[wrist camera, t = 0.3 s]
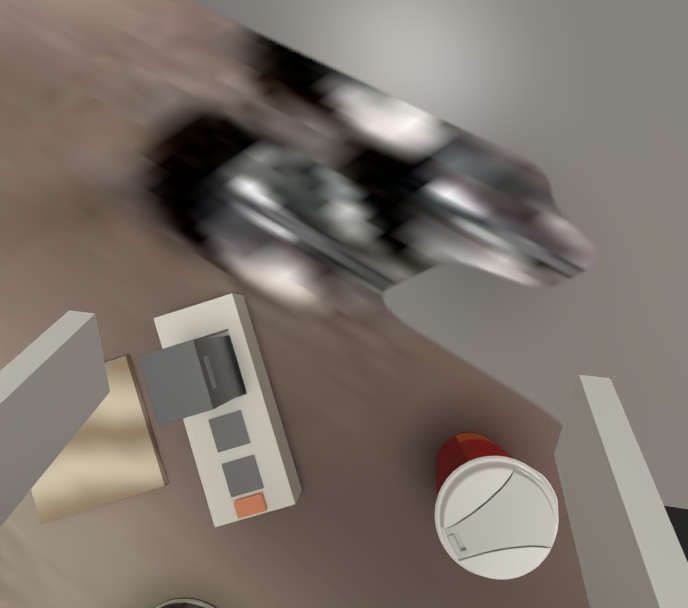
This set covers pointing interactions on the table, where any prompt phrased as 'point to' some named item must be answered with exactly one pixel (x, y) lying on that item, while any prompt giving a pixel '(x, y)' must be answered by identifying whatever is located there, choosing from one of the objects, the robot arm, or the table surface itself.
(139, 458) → the birch pad
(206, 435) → the power strip
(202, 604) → the coffee can
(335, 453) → the table surface
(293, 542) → the table surface
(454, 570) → the table surface
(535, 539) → the paper cup
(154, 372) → the block
